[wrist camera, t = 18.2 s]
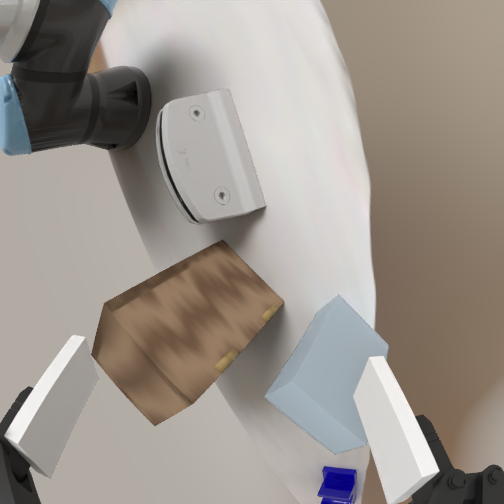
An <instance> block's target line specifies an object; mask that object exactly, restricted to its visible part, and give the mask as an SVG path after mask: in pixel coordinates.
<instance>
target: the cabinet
mask: <svg viewBox="0 0 504 504" xmlns="http://www.w3.org/2000/svg"><path fill="white" fill-rule="evenodd" d="M283 303H284V301H283V300H282V299H281V298H280V297H279V296H278V295H277V294H276V293H275V292H274V291H273V290H272V289H271V288H270V287H269V286H268V285H267V284H266V283H265V282H264V281H263V280H262V279H261V278H260V277H259V276H258V275H257V274H256V273H255V272H254V271H253V270H252V269H251V268H250V267H249V266H248V265H247V264H246V263H245V262H244V261H243V260H242V259H241V258H240V257H239V256H238V255H237V254H236V253H235V252H234V251H233V250H232V249H231V248H230V247H229V246H228V245H227V244H226V243H225V242H224V241H223V240H221V241H219V242H217V243H215V244H213V245H211V246H209V247H207V248H205V249H204V250H202V251H200V252H198V253H196V254H194V255H192V256H190V257H188V258H186V259H184V260H183V261H181V262H179V263H177V264H175V265H173V266H171V267H169V268H168V269H166V270H164V271H162V272H160V273H158V274H156V275H155V276H153V277H151V278H149V279H147V280H146V281H144V282H142V283H140V284H138V285H136V286H135V287H132V288H131V289H129V290H127V291H125V292H123V293H122V294H120V295H118V296H116V297H114V298H113V299H111V300H109V301H107V302H106V303H104V306H103V310H102V313H101V317H100V321H99V324H98V328H97V332H96V336H95V341H94V345H93V349H92V354H91V355H92V356H93V358H94V359H95V360H96V361H97V363H98V364H99V365H100V366H101V367H102V369H103V370H104V371H105V373H106V374H107V375H108V376H109V377H110V379H111V380H112V381H113V382H114V383H115V384H116V386H117V387H118V388H119V389H120V390H121V391H122V392H123V393H124V395H125V396H126V397H127V398H128V399H129V400H130V401H131V402H132V403H133V404H134V406H135V407H136V408H137V409H138V410H139V411H140V412H141V413H142V414H143V415H144V416H145V417H146V418H147V419H148V420H149V421H150V422H151V423H152V424H153V425H154V426H156V425H158V424H159V423H161V422H163V421H165V420H166V419H168V418H170V417H172V416H173V415H175V414H177V413H178V412H180V411H182V410H183V409H185V408H187V407H188V406H190V405H192V404H193V403H194V402H195V401H196V400H197V399H198V398H199V397H200V396H201V395H202V394H203V393H204V392H205V391H206V389H208V388H209V386H210V385H211V384H212V383H213V382H214V381H215V380H216V379H217V378H218V377H219V376H220V375H221V374H222V373H223V372H224V370H225V369H226V368H227V367H228V366H229V365H230V364H231V363H232V362H233V361H234V359H235V358H236V357H237V356H238V355H239V354H240V353H241V352H242V350H243V349H244V348H245V347H246V346H247V345H248V344H249V342H250V341H251V340H252V339H253V338H254V337H255V336H256V334H257V333H258V332H259V331H260V330H261V329H262V328H263V326H264V325H265V324H266V323H267V322H268V321H269V319H270V318H271V317H272V316H273V315H274V314H275V312H276V311H277V310H278V309H279V308H280V306H281V305H282V304H283Z"/></svg>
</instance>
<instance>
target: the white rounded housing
mask: <svg viewBox="0 0 504 504" xmlns="http://www.w3.org/2000/svg"><path fill="white" fill-rule="evenodd" d="M156 146H157V154H158V159H159V164H160V168H161V171H162V174H163V177H164V180H165V182H166V185H167V187H168V190H169V192H170V194H171V196H172V198H173V199H174V201H175V203H176V205H177V206H178V208H179V209H180V211H181V212H182V214H183V215H184V216H185V218H186V219H187V220H188V221H189V222H190V223H193V224H203V223H208V222H213V221H218V220H223V219H228V218H233V217H238V216H242V215H247V214H249V213H251V212H253V211H255V210H257V209H260V208H263V207H265V206H266V203H265V200H264V196H263V193H262V190H261V187H260V183H259V180H258V177H257V174H256V170H255V167H254V164H253V161H252V158H251V155H250V151H249V148H248V145H247V142H246V139H245V136H244V133H243V129H242V126H241V123H240V120H239V117H238V114H237V111H236V108H235V105H234V102H233V99H232V96H231V93H230V90H229V89H217V90H214V91H211V92H208V93H203V94H198V95H193V96H188V97H184V98H179V99H175V100H172V101H170V102H169V103H167V104H166V105H165V106H164V107H163V108H162V109H161V110H160V112H159V114H158V117H157V123H156Z"/></svg>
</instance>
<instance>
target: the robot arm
mask: <svg viewBox="0 0 504 504" xmlns="http://www.w3.org/2000/svg"><path fill="white" fill-rule="evenodd" d="M117 1H118V0H0V58H1V59H2V61H3V62H4V63H11V62H14V63H13V67H12V71H11V74H10V75H9V74H6V75H5V76H2V77H1V78H0V147H1V149H2V151H3V152H4V153H5V154H7V155H10V156H12V155H20V154H31V153H33V152H38V151H43V150H48V149H53V148H59V147H65V146H72V145H78V144H87V145H91V146H95V147H99V148H102V149H106V150H122V149H126V148H129V147H130V146H132V145H133V144H134V143H135V142H136V141H137V140H138V139H139V137H140V136H141V134H142V132H143V130H144V128H145V126H146V123H147V120H148V117H149V112H150V105H151V94H150V87H149V83H148V80H147V78H146V76H145V75H144V73H143V72H142V71H141V70H139V69H137V68H135V67H128V66H118V67H113V68H110V69H106V70H102V71H99V72H95V73H87V71H88V68H89V65H90V62H91V60H92V57H93V54H94V52H95V49H96V47H97V44H98V42H99V40H100V37H101V35H102V33H103V31H104V28H105V26H106V24H107V22H108V20H109V19H111V17H112V14H113V9H114V7H115V5H116V3H117ZM98 379H99V377H98V374H97V372H96V369H95V366H94V363H93V360H92V357H91V354H90V350H89V347H88V344H87V341H86V337H82V336H77V335H72V337H71V338H70V339H69V340H68V342H67V343H66V344H65V346H64V347H63V348H62V350H61V351H60V353H59V354H58V355H57V356H56V358H55V359H54V361H53V362H52V363H51V365H50V366H49V368H48V369H47V370H46V372H45V373H44V375H43V376H42V377H41V379H40V380H39V382H38V383H37V385H36V386H35V388H32V387H27V388H26V389H25V390H23V391H22V392H21V393H20V394H19V396H18V397H17V399H16V400H15V402H14V403H13V404H12V406H11V409H9V411H8V412H7V414H6V415H5V417H4V418H3V420H2V422H1V423H0V504H41V502H40V500H39V497H38V494H37V491H36V488H35V485H34V482H33V478H32V475H31V473H30V471H29V468H30V466H32V467H33V468H34V469H35V470H36V471H37V472H38V473H40V474H42V475H44V476H46V477H48V478H50V479H51V477H52V475H53V472H54V470H55V467H56V465H57V463H58V461H59V458H60V456H61V454H62V452H63V449H64V447H65V445H66V443H67V441H68V439H69V436H70V434H71V432H72V430H73V428H74V426H75V424H76V422H77V420H78V418H79V416H80V414H81V412H82V410H83V408H84V406H85V404H86V402H87V400H88V398H89V396H90V394H91V392H92V390H93V388H94V386H95V385H96V383H97V381H98ZM353 398H354V401H355V404H356V406H357V409H358V412H359V415H360V418H361V421H362V424H363V427H364V430H365V433H366V436H367V439H368V442H369V445H370V448H371V451H372V454H373V458H374V461H375V464H376V467H377V470H378V474H379V477H380V480H381V484H382V487H383V490H384V494H385V497H386V501H387V504H396V503H400V502H403V501H405V500H406V499H408V497H410V496H412V499H413V500H412V501H411V502H410V503H409V504H504V471H503V470H502V468H501V467H499V466H498V465H490V466H488V467H487V468H486V469H485V470H484V471H482V472H478V473H469V474H465V473H464V472H463V471H461V470H459V469H454V468H453V466H452V464H451V462H450V460H449V458H448V456H447V453H446V451H445V450H444V448H443V445H442V443H441V441H440V440H439V437H438V435H437V433H435V429H434V427H433V425H432V423H431V422H430V421H429V420H428V419H427V418H426V417H425V416H424V415H419V416H414V414H413V412H412V410H411V408H410V406H409V404H408V402H407V400H406V398H405V396H404V394H403V392H402V390H401V388H400V386H399V385H398V383H397V381H396V379H395V377H394V375H393V373H392V371H391V369H390V367H389V366H388V364H387V362H386V360H385V358H384V356H376V357H369V359H368V361H367V364H366V366H365V369H364V371H363V374H362V376H361V379H360V381H359V383H358V386H357V388H356V390H355V393H354V395H353Z"/></svg>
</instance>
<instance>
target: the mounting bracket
mask: <svg viewBox="0 0 504 504" xmlns="http://www.w3.org/2000/svg"><path fill="white" fill-rule="evenodd" d="M322 472H323V477H324V481H323V484H322V486H321V488H320V490H319V492H318V494H317V495H318V496H319V497H323V499H322V502H321V504H354V503H355V501H356V470H352V469H342V468H334V467H326V466H324V468H323V471H322Z"/></svg>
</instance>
